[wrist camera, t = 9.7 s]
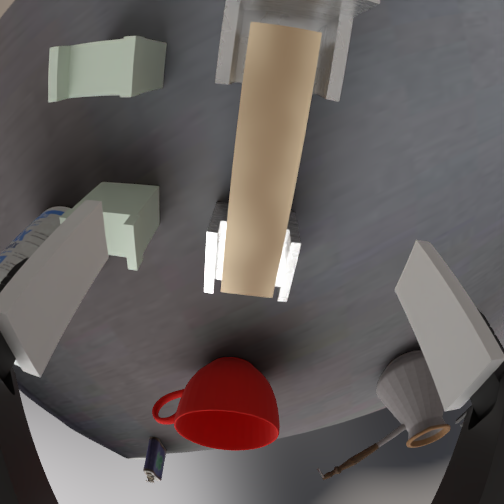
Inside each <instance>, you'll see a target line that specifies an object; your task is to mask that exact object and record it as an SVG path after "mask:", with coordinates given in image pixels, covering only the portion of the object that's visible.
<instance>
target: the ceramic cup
mask: <svg viewBox="0 0 504 504" xmlns="http://www.w3.org/2000/svg"><path fill="white" fill-rule="evenodd" d="M179 397H181V399H180V402H179V405H178V408H177V412H176V413H175V414H173V415H172V416H170V417H167V418H160V417H159V416H158V413H159V410H160V409H161V407H162V406H163V405H164V404H166V403H167V402H169V401H171V400H173V399H176V398H179ZM152 414H153V417H154V419H155V420H156V421H157V422H159V423H161V424H173V423H174V427H175V429H176V430H177V432H178V433H179V434H180V435H182V436H183V437H185V438H186V439H188V440H190V441H192V442H194V443H197V444H199V445H203V446H206V447H210V448H215V449H223V450H249V449H255V448H260V447H263V446H266V445H268V444H270V443H272V442H273V441H274V440H276V439H277V437H278V435H279V415H278V408H277V403H276V399H275V396H274V393H273V390H272V388H271V386H270V384H269V382H268V381H267V379H266V378H265V377H264V376H263V375H262V373H261V372H260V371H258V370H257V369H256V368H255V367H254V366H253V365H252V364H251V363H250V362H248V361H246V360H243V359H240V358H236V357H222V358H218V359H216V360H214V361H212V362H211V363H209V364H208V365H206V366H204V367H203V368H201V369H200V370H199V371H198V372H197V373H196V374H195V375H194V376H193V377H192V378H191V379H190V381H189V382H188V384H187V385H186V387H185V389H182V390H178V391H175V392H172V393H169V394H167V395H165V396H163V397H162V398H160V399H159V400H158V401H157V402H156V403H155V405H154V407H153V410H152Z"/></svg>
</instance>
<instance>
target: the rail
mask: <svg viewBox="0 0 504 504" xmlns="http://www.w3.org/2000/svg"><path fill="white" fill-rule="evenodd" d="M321 36H322V33H321V32H316V31H311V30H306V29H300V28H295V27H288V26H282V25H275V24H268V23H259V22H251V24H250V31H249V38H248V45H247V52H246V60H245V67H244V75H243V83H242V91H241V98H240V107H239V115H238V123H237V132H236V140H235V149H234V158H233V167H232V177H231V186H230V196H229V206H228V216H227V226H226V237H225V248H224V259H223V270H222V282H221V292H225V293H233V294H242V295H250V296H259V297H268V298H272V296H273V292H274V287H275V283H276V278H277V273H278V269H279V264H280V259H281V255H282V250H283V245H284V240H285V235H286V230H287V226H288V221H289V216H290V211H291V206H292V201H293V195H294V190H295V185H296V180H297V175H298V170H299V164H300V159H301V154H302V148H303V143H304V137H305V132H306V126H307V121H308V115H309V109H310V104H311V98H312V92H313V86H314V80H315V74H316V68H317V62H318V56H319V49H320V43H321Z"/></svg>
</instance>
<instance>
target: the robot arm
mask: <svg viewBox="0 0 504 504" xmlns="http://www.w3.org/2000/svg"><path fill="white" fill-rule="evenodd" d="M108 258H109V256H108V250H107V243H106V235H105V227H104V219H103V209H102V201H94V200H85V201H84V202H83V203H82V204H81V205H80V206H79V207H78V208H77V209H76V210H75V211H74V212H73V213H72V214H71V215H70V216H69V217H68V218H67V219H66V220H65V221H64V222H63V223H62V224H61V225H60V226H59V227H58V228H57V229H56V230H55V231H54V232H53V233H52V234H51V235H50V236H49V237H48V238H47V239H46V240H45V241H44V242H43V243H42V244H41V246H40V247H39V248H38V249H37V250H36V251H35V252H34V253H33V254H32V255H31V257H30V258H25V259H24V260H22V261H21V262H19V263H18V264H16V265H15V266H14V267H13V268H12V269H11V270H10V272H9V273H8V274H7V277H4V279H3V280H2V281H1V284H0V504H58V502H57V500H56V497H55V495H54V493H53V491H52V489H51V486H50V484H49V482H48V479H47V477H46V475H45V472H44V470H43V467H42V465H41V462H40V459H39V456H38V454H37V451H36V448H35V445H34V442H33V439H32V437H31V433H30V430H29V427H28V423H27V420H26V416H25V413H24V409H23V406H22V401H21V397H20V393H19V389H18V384H17V380H16V375H15V372H14V370H13V368H12V366H13V364H14V362H15V360H16V361H17V362H18V364H19V366H20V367H21V369H22V370H23V371H24V372H27V373H29V374H32V375H35V376H38V377H41V375H42V373H43V371H44V369H45V367H46V365H47V363H48V361H49V359H50V357H51V355H52V353H53V351H54V350H55V348H56V346H57V344H58V342H59V340H60V338H61V336H62V335H63V333H64V331H65V329H66V327H67V326H68V324H69V322H70V320H71V318H72V317H73V315H74V313H75V311H76V310H77V308H78V306H79V305H80V303H81V301H82V300H83V298H84V296H85V295H86V293H87V291H88V290H89V288H90V286H91V285H92V283H93V281H94V280H95V278H96V277H97V275H98V273H99V272H100V270H101V269H102V267H103V266H104V264H105V263H106V261H107V260H108ZM395 292H396V294H397V296H398V298H399V300H400V303H401V305H402V307H403V309H404V311H405V313H406V316H407V318H408V320H409V322H410V324H411V327H412V329H413V331H414V334H415V336H416V338H417V340H418V343H419V345H420V348H421V350H422V352H423V355H424V357H425V360H426V362H427V365H428V367H429V370H430V372H431V375H432V378H433V380H434V383H435V385H436V388H437V391H438V394H439V396H440V399H441V402H442V405H443V408H444V411H449V410H453V409H459V408H461V407H462V406H463V405H464V404H465V403H466V402H467V401H468V400H469V399H471V402H472V406H470V407H469V408H468V409H467V410H466V411H465V412H464V413H463V414H462V415H461V416H460V417H459V418H458V419H457V420H456V422H455V423H456V424H458V423H459V422H460V421H461V420H462V419H464V422H463V423H462V424H461V425H460V426H461V427H462V429H461V432H460V435H459V438H458V441H457V444H456V446H455V449H454V452H453V455H452V457H451V460H450V462H449V465H448V467H447V470H446V472H445V475H444V477H443V479H442V482H441V484H440V486H439V489H438V491H437V493H436V495H435V497H434V499H433V501H432V503H431V504H504V348H503V347H502V345H501V343H500V341H499V340H498V338H497V336H496V335H494V331H493V329H492V328H491V327H490V324H489V323H488V321H487V319H486V318H485V316H484V315H483V314H482V313H481V312H480V311H479V310H478V309H477V308H476V306H475V305H474V303H473V302H472V300H471V299H470V297H469V296H468V294H467V293H466V291H465V290H464V288H463V287H462V285H461V284H460V282H459V281H458V280H457V278H456V277H455V275H454V274H453V273H452V271H451V270H450V268H449V267H448V266H447V264H446V263H445V261H444V260H443V259H442V257H441V256H440V255H439V253H438V252H437V251H436V249H435V248H434V247H433V246H432V244H431V243H430V242H426V241H420V240H416V242H415V244H414V247H413V249H412V251H411V254H410V256H409V259H408V261H407V263H406V265H405V268H404V270H403V272H402V274H401V277H400V279H399V281H398V283H397V285H396V288H395Z"/></svg>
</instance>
